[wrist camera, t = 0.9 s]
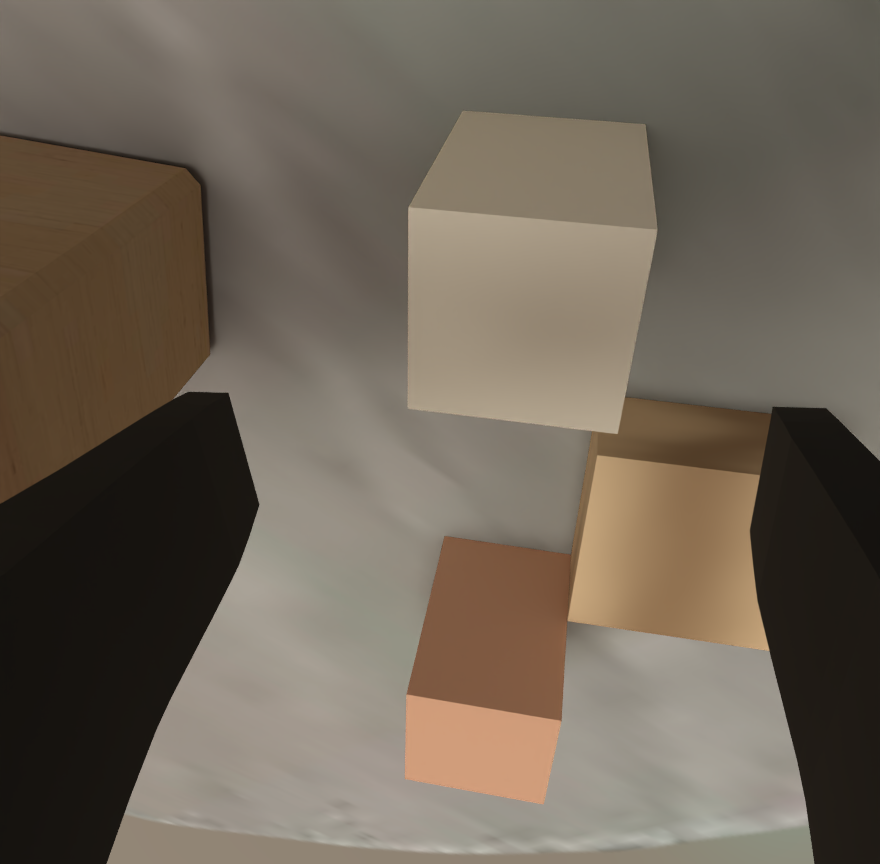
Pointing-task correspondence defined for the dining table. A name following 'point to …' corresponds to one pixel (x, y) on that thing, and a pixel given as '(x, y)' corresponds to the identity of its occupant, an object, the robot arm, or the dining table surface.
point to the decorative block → (92, 300)
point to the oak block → (671, 524)
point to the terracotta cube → (490, 671)
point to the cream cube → (530, 270)
